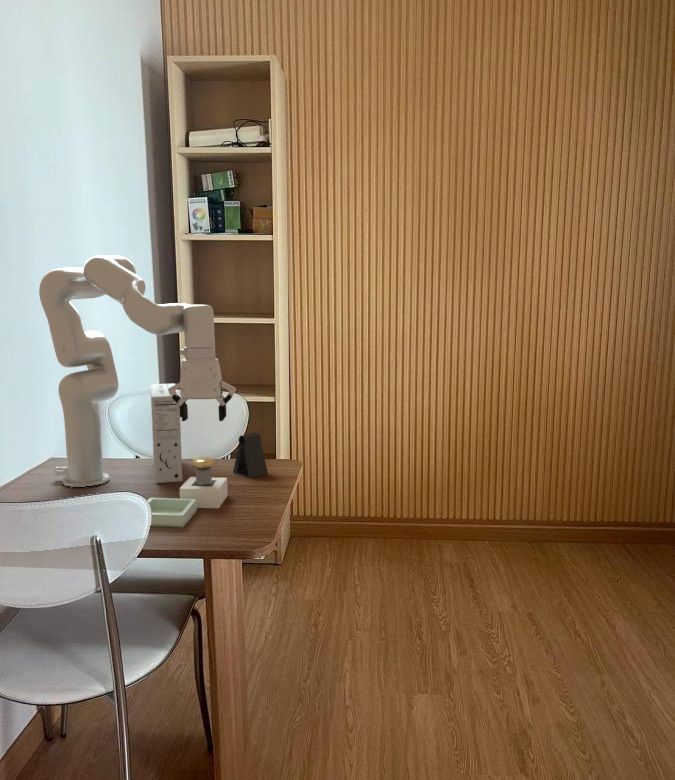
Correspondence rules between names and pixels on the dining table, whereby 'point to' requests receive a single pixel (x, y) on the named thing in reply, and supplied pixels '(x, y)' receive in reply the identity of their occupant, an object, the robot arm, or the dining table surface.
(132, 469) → the dining table surface
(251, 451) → the black a-frame stand
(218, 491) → the block
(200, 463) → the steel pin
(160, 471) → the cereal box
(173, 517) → the tray
